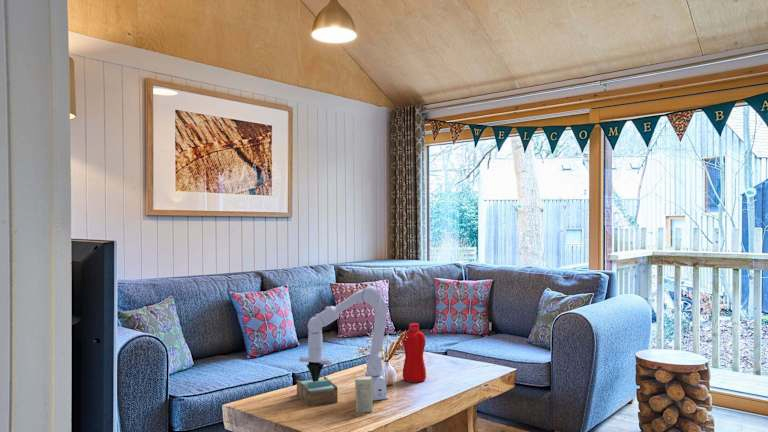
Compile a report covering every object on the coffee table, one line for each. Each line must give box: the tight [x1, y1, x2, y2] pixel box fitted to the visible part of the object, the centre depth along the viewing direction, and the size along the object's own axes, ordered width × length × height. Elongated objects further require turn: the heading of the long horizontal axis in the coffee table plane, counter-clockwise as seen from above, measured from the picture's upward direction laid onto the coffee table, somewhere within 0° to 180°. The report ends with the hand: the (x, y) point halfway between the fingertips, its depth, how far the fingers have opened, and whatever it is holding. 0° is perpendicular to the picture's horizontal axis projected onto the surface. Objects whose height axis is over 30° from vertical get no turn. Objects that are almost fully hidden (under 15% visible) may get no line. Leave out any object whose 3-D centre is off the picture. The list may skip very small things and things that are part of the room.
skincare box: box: [354, 376, 374, 413], centre depth 215 cm, size 6×4×12 cm
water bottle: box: [401, 322, 427, 383], centre depth 254 cm, size 9×11×25 cm
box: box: [296, 376, 338, 407], centre depth 230 cm, size 16×12×6 cm
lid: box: [299, 378, 335, 392], centre depth 229 cm, size 14×10×3 cm
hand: (315, 381), depth 231 cm, fingers closed
